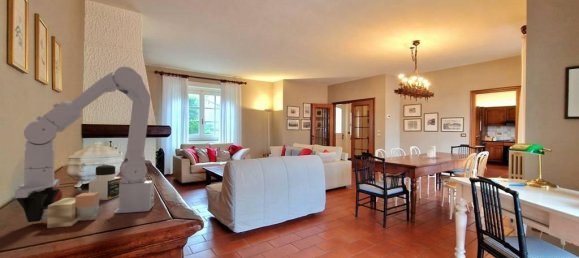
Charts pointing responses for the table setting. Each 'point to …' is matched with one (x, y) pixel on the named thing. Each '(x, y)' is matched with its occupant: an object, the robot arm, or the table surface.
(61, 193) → the onion
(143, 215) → the table surface
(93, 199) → the block
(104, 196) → the medicine bottle
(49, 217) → the bearing block
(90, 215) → the bar
